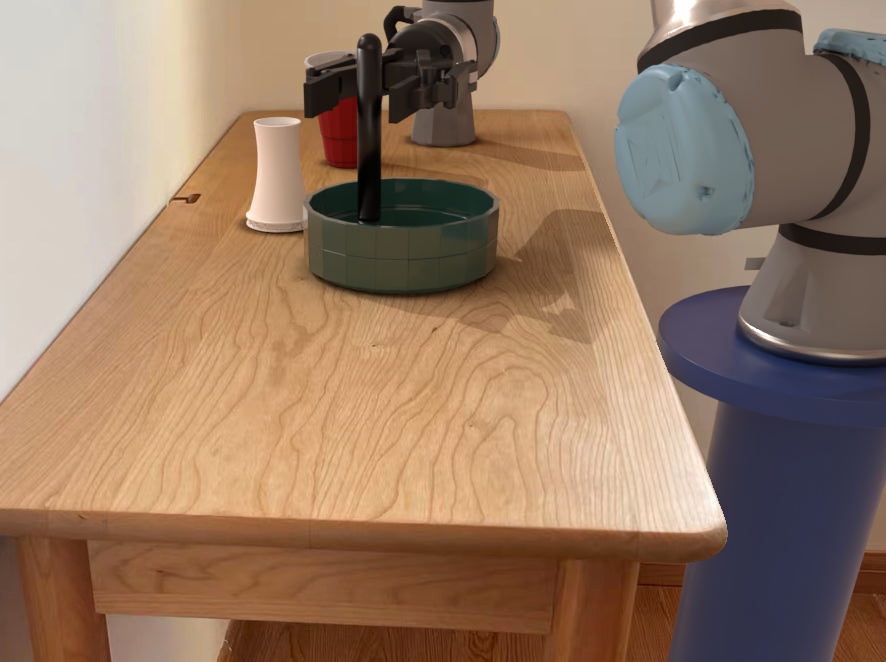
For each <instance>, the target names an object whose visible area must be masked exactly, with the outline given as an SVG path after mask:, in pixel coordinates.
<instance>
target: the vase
mask: <svg viewBox="0 0 886 662" xmlns="http://www.w3.org/2000/svg"><path fill="white" fill-rule="evenodd" d="M301 124H302V120H301V119H299V118H296V117H288V116H271V117H270V116H269V117H263V118H258V119H256V120H254V121H253V127H254V132H255V138H256V139H255V140H256V148H257V150H256V151H257V171H256V181H255V187H254V193H253V197H252V201H251V204H250V205H251V206H250V208H249V210H248V211H247V212H246V213H245V217H246V219H247V220H246V222H245V223H246V226H247V227H249V228H250V229H252V230H256V231H259V232H266V233H267V232H268V233H291V232H298V231H303V202H304V200H305V198H306V196H307V195H308V193H307V189H306V184H305V181H304V176H303V171H302V164H301V153H300V152H301V151H300V141H301V139H300V137H301Z"/></svg>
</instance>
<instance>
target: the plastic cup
mask: <svg viewBox="0 0 886 662" xmlns="http://www.w3.org/2000/svg"><path fill="white" fill-rule="evenodd" d="M348 53H352V54H354V55H356V57H357V49H341V50H328V51H322V52H317V53H313V54H311V55H309V56H306V57H305V59H304V61H303V63H304V67H306V69H308V68H310V67H314V66H318V65H321V64H324V63H327V62H330V61H334V60H337V59H340V58H342V56H343V55H347V54H348ZM383 99H384V96H382V100H383ZM317 119H318V125H319V131H320V136H321V137H322V138H321V139H322V144H323V151H324V157H325V159H326V163H327V164H328V165H329V166H331V167H335V168H336V167H337V168H345V169H347V168H349V169H351V168H352V169H353V168H357V96H356V97H351V98H347V99H343V100H339V105H338V106H336V107H334V108H333V111H326V112H324V113H322V114H320V115H318V116H317Z"/></svg>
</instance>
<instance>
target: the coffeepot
mask: <svg viewBox="0 0 886 662" xmlns="http://www.w3.org/2000/svg"><path fill="white" fill-rule="evenodd" d="M493 16H494V17H495V19H496V22H497V23H498V18H497V17H496V16H495V15H493ZM421 19H422V7H419V6H406V5H394V6H393V7H392V8H391V9H390V11H389V12H388V13H387V14H386V16H385V17H384V19H383V22H382V25H383V27H382V28H383V31H384V35H385V38H386V41H387V45H388V44H389V42H390V41H391V39H392V38H393V37H394V35H395V34H396V33H397V32H398V29H397V24H398V22H401V23H404V24H409V25H411V24H414V23H416V22H418V21H419V20H421ZM473 107H474V105H473V98H472V92H470V93H467V95H466V96H465V97H464V98H463V99H462V101H461V102H460V103H459V104H458V105H457V107H455V108H453V109H447V108H444V107H443V102H441V103H439V104H437V105H435V107H434V108H431V109H420V110H419V111H417V112H415V113H414V114H413V120H412V127H411V131H410V139H411V142H412V143H414V144H417V145H421V146H428V147H443V148H444V147H445V148H447V147H459V146H465V145H469V144H472V143H474V142H475V141H476V139H477V138H476V130H475V129H476V128H475V119H474V118H475V117H474V109H473Z"/></svg>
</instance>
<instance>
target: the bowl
mask: <svg viewBox="0 0 886 662" xmlns="http://www.w3.org/2000/svg"><path fill="white" fill-rule="evenodd" d="M500 203H501V199H500V197H498V196H497V195H496V194H494V193H493V192H492V191H491V190H488V189H486V188H482V187H480V186H477V185H475V184H472V183H471V184H470V183H466V182H461V181H457V180H456V181H455V180H451V179H442V178H433V177H413V176H411V177H410V176H409V177H408V176H391V177H390V176H388V177H381V219H380V222H379V223H378V226H374V225H366V224H360V222H359V220H358V188H357V179H355V180H350V181H348V180H347V181H342V182H338V183H337V182H336V183H334V184H330V185H327V186H323V187H320V188H318V189H317V190H314V191H312V192H310V193H309V194H307V196H306V198H305V200H304V202H303V230H302V231H303V259H304V263H305V265H306V267H307V270H308V271H310V272H311V273H312V274H315V276H318V277H319V278H320V279H323V280H324V281H326V282H328V283H330V284H332V285H335V286H338V287H342V288H346V289H350V290H353V291H354V290H355V291H358V292H359V291H360V292H366V293H373V294H374V293H375V294H389V295H390V294H391V295H411V294H413V295H415V294H427V293H428V294H429V293H435V292H436V293H437V292H442V291H448V290H452V289H455V288H460V287H463V286H466V285H468V284H471V283H474V282H475V281H477V280H479V279H480V278H482V277H485V276H486V275H488V274H489V273H490V272H491V271H492V270H493V269H494V268H496V265H497V251H498V250H497V248H498V233H499V219H500V206H501V205H500Z"/></svg>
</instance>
